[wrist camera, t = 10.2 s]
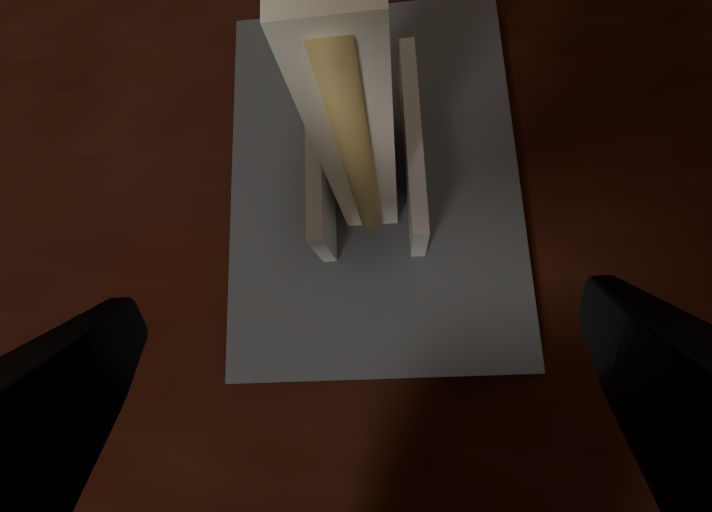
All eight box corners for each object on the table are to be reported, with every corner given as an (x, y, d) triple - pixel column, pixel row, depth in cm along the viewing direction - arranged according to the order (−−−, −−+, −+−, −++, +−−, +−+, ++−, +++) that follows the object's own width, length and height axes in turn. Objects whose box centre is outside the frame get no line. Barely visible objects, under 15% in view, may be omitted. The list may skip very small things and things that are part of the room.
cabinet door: (398, 232, 19) (389, 31, 7) (348, 235, 19) (259, 45, 7) (390, 99, 20) (373, -251, 8) (344, 103, 20) (265, -233, 9)
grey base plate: (537, 372, 18) (581, 378, 13) (234, 382, 19) (183, 390, 15) (490, 7, 22) (512, -80, 17) (243, 35, 23) (206, -40, 19)
